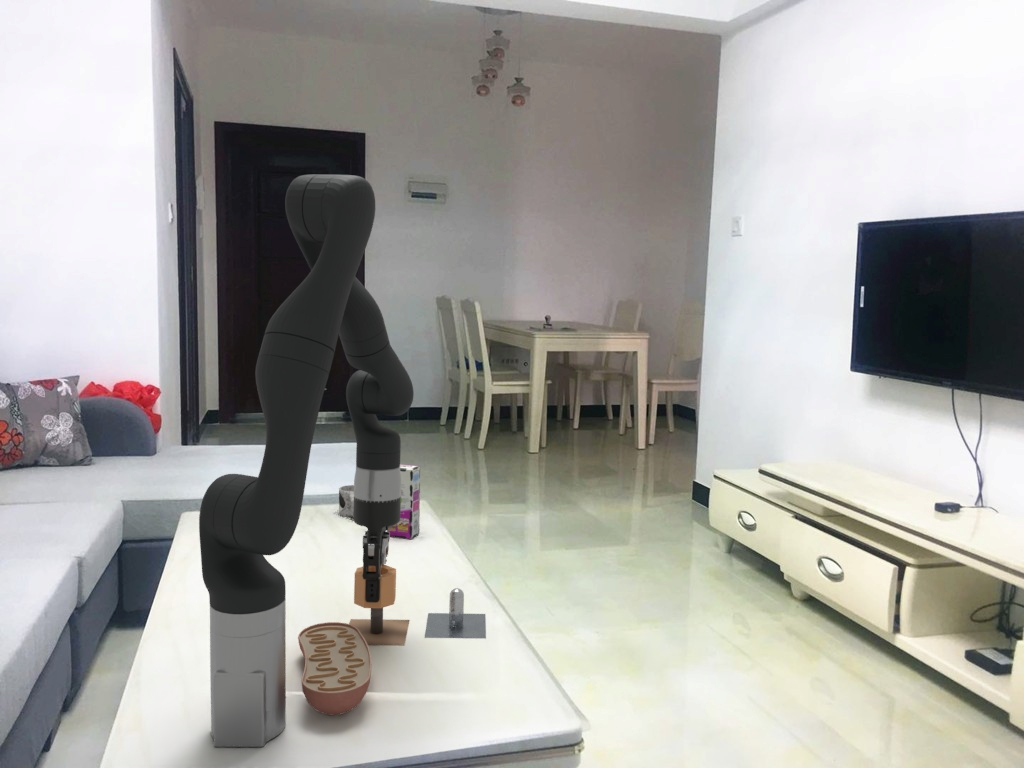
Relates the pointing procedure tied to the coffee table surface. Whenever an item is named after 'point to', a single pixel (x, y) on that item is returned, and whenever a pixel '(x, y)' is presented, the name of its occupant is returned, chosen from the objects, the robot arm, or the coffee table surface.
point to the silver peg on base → (456, 621)
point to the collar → (385, 587)
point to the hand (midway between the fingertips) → (375, 593)
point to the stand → (381, 629)
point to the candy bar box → (408, 504)
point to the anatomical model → (334, 666)
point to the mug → (346, 501)
